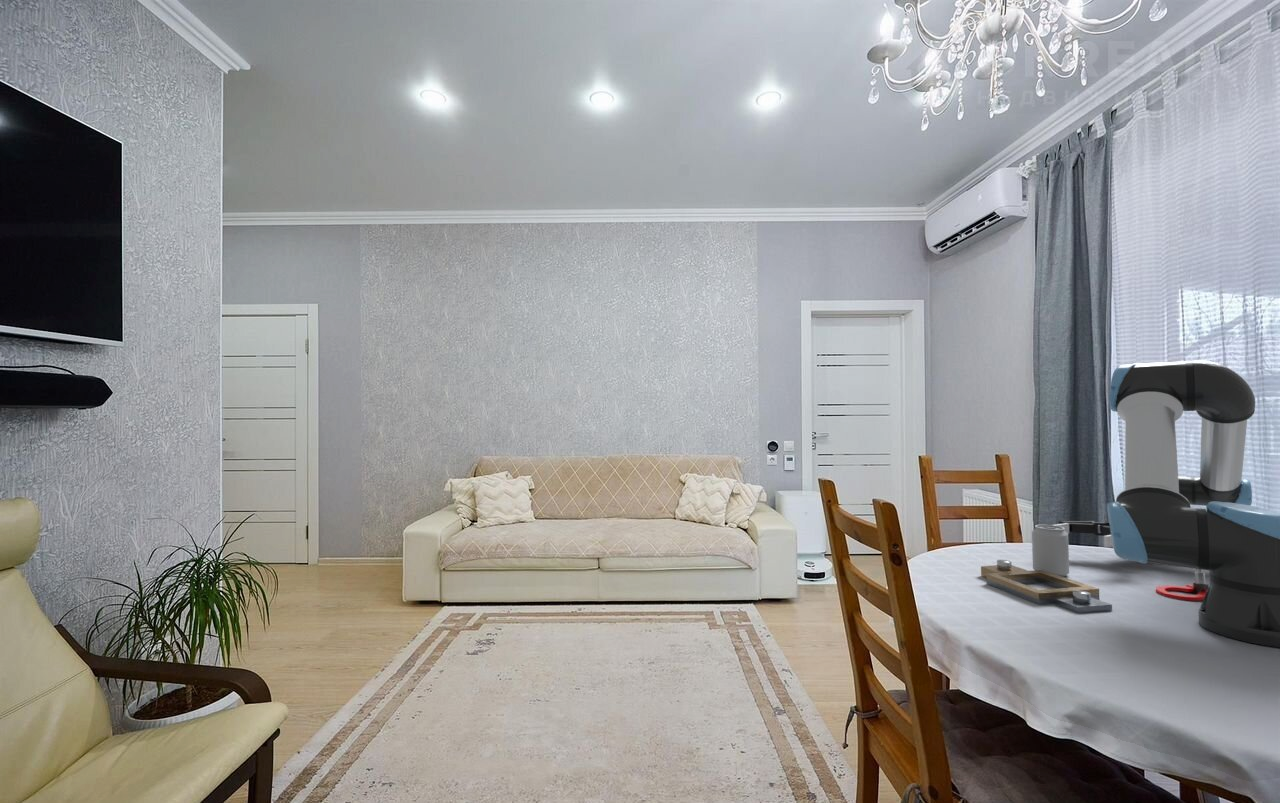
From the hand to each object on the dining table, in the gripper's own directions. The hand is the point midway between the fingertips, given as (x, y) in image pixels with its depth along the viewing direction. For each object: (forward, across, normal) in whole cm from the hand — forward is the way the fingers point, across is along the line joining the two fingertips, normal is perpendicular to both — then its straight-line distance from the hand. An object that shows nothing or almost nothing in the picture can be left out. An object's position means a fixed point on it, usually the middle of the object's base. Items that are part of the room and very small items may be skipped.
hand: (1076, 535), depth 149 cm
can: (+10, 0, -9) cm, 13 cm away
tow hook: (0, -22, -9) cm, 24 cm away
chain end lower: (+26, -12, -8) cm, 30 cm away
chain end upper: (+25, -6, -8) cm, 27 cm away
